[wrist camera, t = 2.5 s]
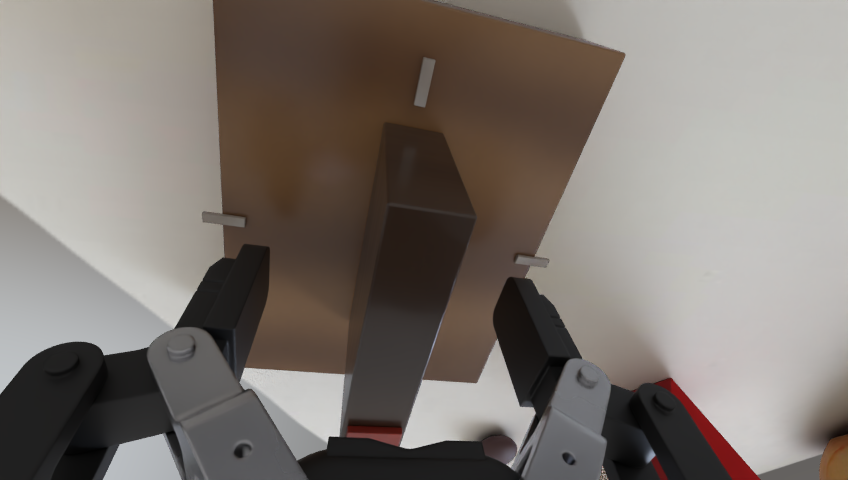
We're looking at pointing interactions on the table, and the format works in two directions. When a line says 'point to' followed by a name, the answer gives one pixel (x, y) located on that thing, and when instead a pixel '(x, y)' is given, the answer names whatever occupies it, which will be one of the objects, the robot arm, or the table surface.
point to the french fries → (708, 439)
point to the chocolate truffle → (500, 448)
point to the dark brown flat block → (403, 279)
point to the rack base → (359, 146)
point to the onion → (835, 459)
